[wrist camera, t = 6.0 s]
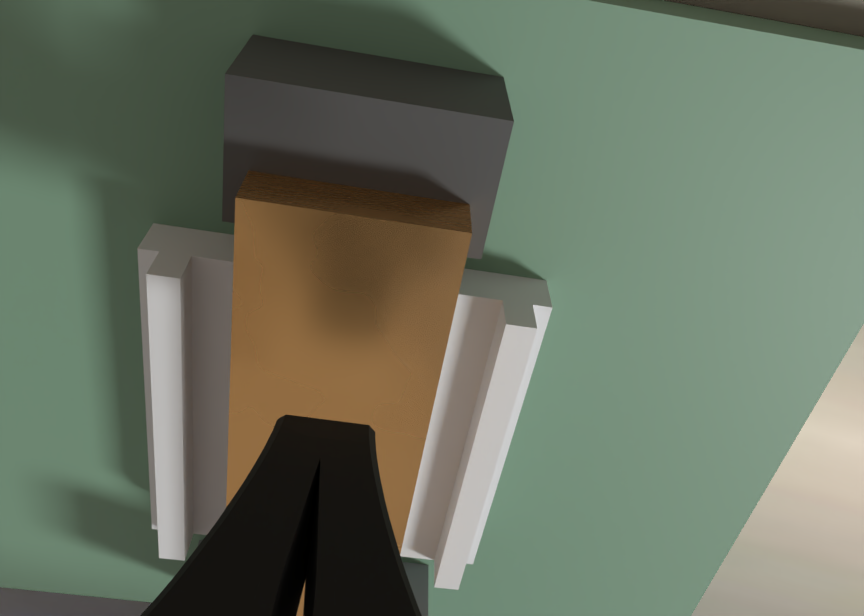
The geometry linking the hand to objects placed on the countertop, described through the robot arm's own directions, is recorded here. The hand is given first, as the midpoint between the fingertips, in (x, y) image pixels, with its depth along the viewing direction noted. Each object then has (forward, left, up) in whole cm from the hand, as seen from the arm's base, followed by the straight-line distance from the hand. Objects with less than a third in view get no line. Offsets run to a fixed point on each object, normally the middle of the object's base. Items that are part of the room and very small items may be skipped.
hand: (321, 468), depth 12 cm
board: (-3, 0, -7) cm, 7 cm away
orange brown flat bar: (-4, 0, -3) cm, 5 cm away
